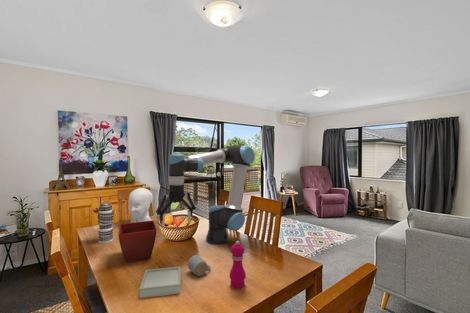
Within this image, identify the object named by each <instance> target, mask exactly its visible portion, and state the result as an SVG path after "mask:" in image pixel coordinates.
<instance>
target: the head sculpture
mask: <svg viewBox="0 0 470 313" xmlns="http://www.w3.org/2000/svg"><path fill="white" fill-rule="evenodd" d="M153 201H154V195H153V193H152V191H151V190H149V189H148V188H145V187H138V188H135V189H133V190H132V191H131V192H130V193H129V195H128V213H129V215H130V218H131V220H130V222H129V223H135V222H144V221H153V220H152V218H151V217H150V213H149V209H150V206H151V204H152V203H153Z"/></svg>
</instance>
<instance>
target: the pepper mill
mask: <svg viewBox="0 0 470 313" xmlns="http://www.w3.org/2000/svg"><path fill="white" fill-rule="evenodd" d="M230 253H231V259H232V260H233V261H232V266H231V269H230V271H229V279H230V287H231V288H232V289H235V290H240V289H243V288H244V287H245V280H246V270H245V269H244V266H243V259H244V253H245V247H244V245H243V244H241V243H240V241H239V240H236V241H235V243H234V244H233V245H232V246H231V248H230Z"/></svg>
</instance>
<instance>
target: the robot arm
mask: <svg viewBox="0 0 470 313" xmlns="http://www.w3.org/2000/svg"><path fill="white" fill-rule="evenodd" d="M255 158H256V155H255V151H254V149H253V148H252V147H251V146H249V145H230V146H226V147H223V148H222V147H221V148H218V149H217V150H215V151H209V152H208V151H207V152H202V153H198V154H192V155H186V156H185V154H174V153H173V154H170V155H169V157H168V184H169V185H168V194H165V193H163V194H162V198H161V201H160V203H159V205H158V206H157V208H156V210H155V213H156V214H157V215H159V220H160V222H161V228H163V229H165V227H166V226H165V225H166V224H165V220H166V218H165V217H166V215H165V212H166V211H168V210H167V209H168V208H169V207H170V206H171V205H172V204H173V203H181V202H182V204H183V205H184V206H185V207H186V208H187V209H188V210H187V223H188V224H190V225H191V222H192V217H193V211H194V210H196V205H195V203H194V202H193V200H192V197H191V193H190V192H189V191H187V192H185V185H184V183H185V173H194V172H197V173H198V172H201V171H203V170H204V167H205V165H211V164H215V163H220V164H223V163H230V164H231V165H232V167H233V171H232V176H231V182H230V187H229V188H230V189H229V194H228V200H227V204H226V205H225V204H222V205H221V204H218V205H213V206H210V207H209V209H208V230H207V234H206V236H205V237H206V239H205V241H206V242H207V243H208V244H213V245H222V244H225V243H227V242H228V241H229V240H230V239H229V238H230V237H229V233H228V230H229V231H234V232H236V231H240V230H241V228H243V226H244V225H245V222H246V216H245V214H244V213H243V211H244V210H243V208H242V202H243V194H244V189H245V182H246V176H247V170H248V169H249V168H250V166H251V164H252V163H253V162H254V161H255ZM185 197H186V198H187V200H188V202H187V201H186V200H185V199H184V198H185ZM167 199H168V201H167V202H166V200H167ZM165 202H166V204H165ZM188 203H189V204H188Z"/></svg>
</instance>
